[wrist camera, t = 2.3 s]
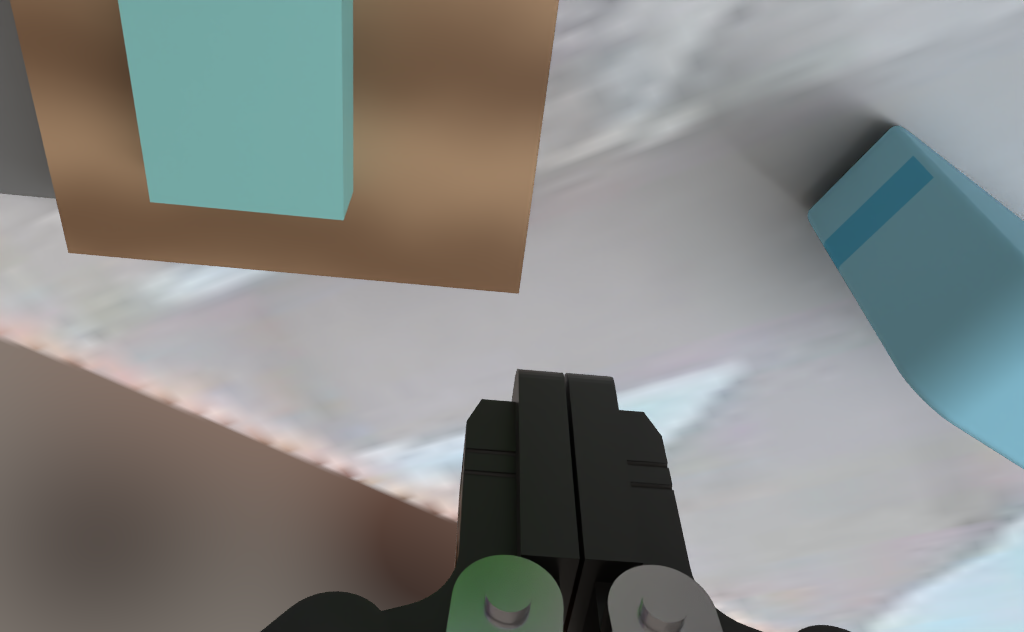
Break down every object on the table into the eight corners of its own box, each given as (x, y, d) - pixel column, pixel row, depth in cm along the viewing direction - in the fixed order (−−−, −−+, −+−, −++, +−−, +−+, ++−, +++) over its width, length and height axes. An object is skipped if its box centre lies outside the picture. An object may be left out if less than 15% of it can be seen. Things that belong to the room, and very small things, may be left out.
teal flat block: (128, -130, 22) (98, -119, 21) (352, -103, 23) (340, -90, 21) (171, 174, 28) (150, 202, 26) (353, 191, 28) (343, 220, 26)
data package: (794, 201, 33) (914, 403, 23) (882, 110, 31) (1058, 291, 21) (989, 337, 37) (1164, 560, 27) (1080, 265, 34) (1306, 479, 25)
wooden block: (17, -307, 23) (-63, -312, 20) (579, -233, 24) (590, -226, 21) (112, 200, 33) (68, 252, 29) (517, 238, 34) (518, 293, 30)
